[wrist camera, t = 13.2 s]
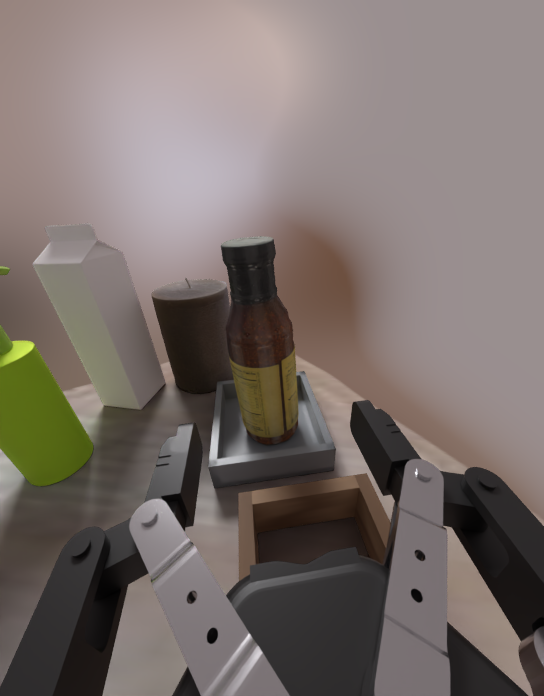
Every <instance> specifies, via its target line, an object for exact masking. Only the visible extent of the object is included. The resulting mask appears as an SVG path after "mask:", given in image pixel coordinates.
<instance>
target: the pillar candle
mask: <svg viewBox="0 0 544 696" xmlns="http://www.w3.org/2000/svg"><path fill="white" fill-rule="evenodd" d="M185 280H186V281H179V282H175V283H171V284H167V285H165V286H161V287H159V288H157V289H155V290H154V291H153V292H152V299H153V303H154V307H155V311H156V315H157V318H158V322H159V325H160V329H161V333H162V336H163V339H164V343H165V347H166V351H167V354H168V358H169V361H170V365H171V368H172V371H173V375H174V378H175V381H176V385H177V386H178V387H179V388H180V389H181V390H183V391H187V392H190V393H196V394H198V393H201V394H202V393H208V392H212V391H216V389H217V382H220V381H228V380H234V378H233V372H232V368H231V363H230V358H229V354H228V348H227V337H226V322H227V319H228V316H229V311H230V305H229V298H228V290H227V284H226V283H225V282H222V281H217V280H207V279H205V280H187V278H186V279H185Z"/></svg>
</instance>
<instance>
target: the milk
mask: <svg viewBox="0 0 544 696" xmlns="http://www.w3.org/2000/svg"><path fill="white" fill-rule="evenodd" d="M45 231H46V233H47V235H48V237H49V239H50V243H49V244H48V246H47V247H46V248H45V249H44V250H43V252H42V253H41V254H40V255H39V256H38V258H37V259H36V260H35V261H34V263H33V267H34V269H35V271H36V272H37V275H38V276H39V279H40V281H41V283H42V284H43V287H44V289H45V291H46V292H47V294H48V296H49V298H50V300H51V302H52V304H53V306H54V308H55V310H56V312H57V314H58V316H59V318H60V320H61V322H62V324H63V326H64V328H65V330H66V332H67V334H68V336H69V338H70V340H71V342H72V344H73V346H74V348H75V350H76V352H77V354H78V356H79V358H80V360H81V362H82V364H83V366H84V368H85V370H86V372H87V374H88V376H89V378H90V379H91V382H92V384H93V386H94V388H95V390H96V392H97V394H98V395H99V397H100V399H101V401H102V403H103V405H104V406H113V407H121V408H130V409H139V410H141V409H142V408H143V407H144V406H145V405H146V404H147V403H148V402H149V401H150V399H151V398H152V397H153V396H154V395H155V394H156V393H157V392H158V391H159V389H160V388H161V387H162V386H163V385H164V384H165V379H164V376H163V373H162V370H161V367H160V364H159V361H158V358H157V355H156V352H155V349H154V346H153V343H152V339H151V337H150V333H149V330H148V327H147V324H146V321H145V318H144V316H143V312H142V309H141V306H140V303H139V300H138V297H137V294H136V291H135V288H134V285H133V282H132V279H131V276H130V273H129V269H128V266H127V263H126V260H125V258H124V254H123V252H122V251H120V250H118V249H116V248H114V247H112V246H109V245H107V244H105V243H103V242H101V241H99V240H98V239H97V237H96V234H95V231H94V229H93V227H92V226H91V224H75V225H58V226H46V227H45Z"/></svg>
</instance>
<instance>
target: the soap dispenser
mask: <svg viewBox="0 0 544 696" xmlns="http://www.w3.org/2000/svg"><path fill="white" fill-rule="evenodd" d="M9 271H10V269H9V268H7V267H4V266H0V275H7V274H8V272H9ZM0 449H1V450H2V451H3V452H4V453H5V454H6V456H7V457H8V458H9V459H10V460H11V461H12V463H13V464H14V465H15V466H16V467H17V468H18V470H19V471H20V472H21V473H22V474H23V475H24V477H25V478H26V479H27V480H28V481H29V482H30V483H31V484H32V485H35V486H46V485H51V484H54V483H57V482H59V481H61V480H63V479H65V478H67V477H69V476H71V475H72V474H74V473H75V472H76V471H78V470H79V469H80V468H81V467H82V466H83V465H84V464H85V463H86V462H87V461H88V459H89V458H90V456H91V454H92V452H93V443H92V441H91V440H90V438H89V436H88V435H87V433H86V431H85V430H84V428H83V426H82V424H81V423H80V421H79V419H78V418H77V416H76V414H75V413H74V411H73V409H72V407H71V406H70V404H69V402H68V401H67V399H66V397H65V396H64V394H63V392H62V390H61V389H60V387H59V385H58V384H57V382H56V380H55V379H54V377H53V375H52V373H51V372H50V370H49V368H48V367H47V365H46V363H45V362H44V360H43V358H42V357H41V355H40V353H39V351H38V350H37V348H36V346H35V345H34V343H32V342H30V341H12V342H11V340H10V339H9V337H8V336H7V334H6V333H5V331H4V330H3V328H2V326H1V325H0Z"/></svg>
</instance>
